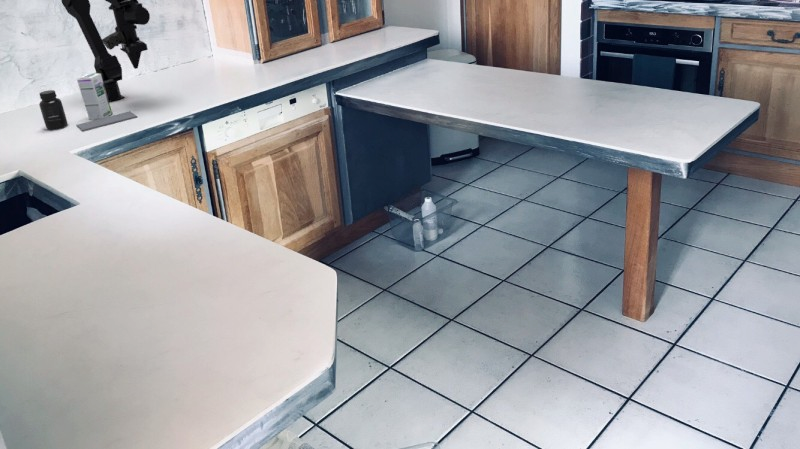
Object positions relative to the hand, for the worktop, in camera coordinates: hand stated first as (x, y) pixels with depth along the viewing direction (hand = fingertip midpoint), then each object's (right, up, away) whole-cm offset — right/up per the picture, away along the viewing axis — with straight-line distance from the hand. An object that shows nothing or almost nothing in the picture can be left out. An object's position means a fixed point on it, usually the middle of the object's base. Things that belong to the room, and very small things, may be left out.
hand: (136, 68), depth 255 cm
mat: (-6, -20, -11) cm, 24 cm away
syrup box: (-10, -18, -5) cm, 21 cm away
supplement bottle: (-22, -22, -11) cm, 33 cm away
